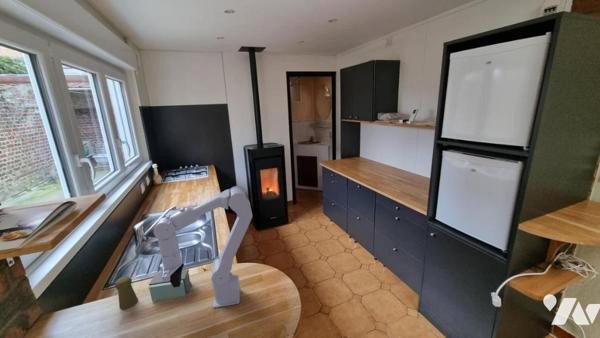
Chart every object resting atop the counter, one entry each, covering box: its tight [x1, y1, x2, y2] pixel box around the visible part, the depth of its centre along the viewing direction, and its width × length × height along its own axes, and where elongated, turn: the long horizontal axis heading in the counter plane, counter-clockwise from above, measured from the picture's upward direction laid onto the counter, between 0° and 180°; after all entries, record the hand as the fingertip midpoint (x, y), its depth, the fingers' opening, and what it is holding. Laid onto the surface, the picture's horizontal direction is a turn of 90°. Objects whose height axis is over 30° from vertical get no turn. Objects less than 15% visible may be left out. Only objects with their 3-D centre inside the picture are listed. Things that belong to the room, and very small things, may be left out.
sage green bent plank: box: [148, 280, 187, 302], centre depth 96 cm, size 12×1×6 cm, turn 99°
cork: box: [114, 276, 139, 311], centre depth 94 cm, size 6×6×11 cm
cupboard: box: [148, 268, 192, 295], centre depth 100 cm, size 13×6×7 cm, turn 100°
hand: (177, 285), depth 88 cm, fingers closed
